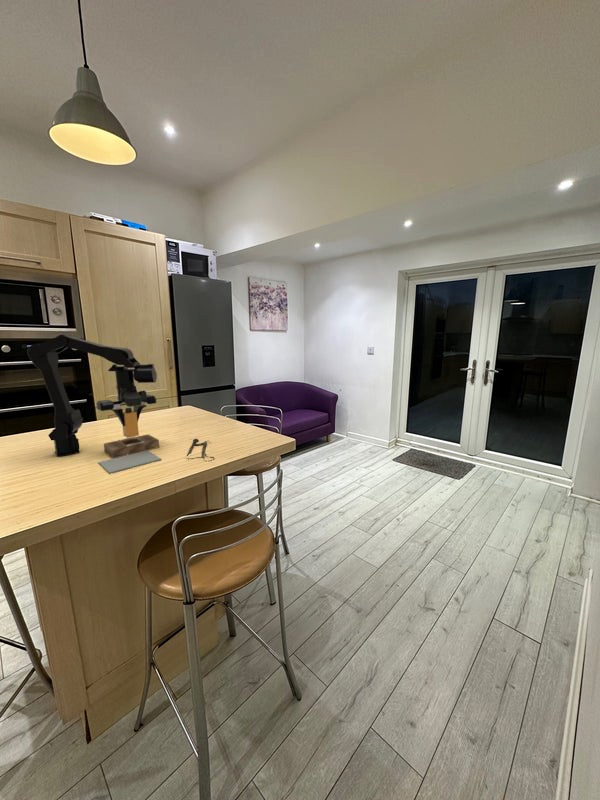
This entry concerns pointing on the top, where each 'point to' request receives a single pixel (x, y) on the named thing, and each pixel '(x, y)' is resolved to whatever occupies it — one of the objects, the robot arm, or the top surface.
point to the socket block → (130, 445)
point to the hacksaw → (202, 449)
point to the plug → (130, 423)
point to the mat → (128, 461)
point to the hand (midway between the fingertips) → (130, 424)
